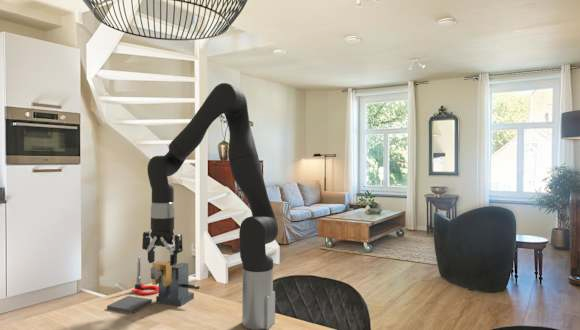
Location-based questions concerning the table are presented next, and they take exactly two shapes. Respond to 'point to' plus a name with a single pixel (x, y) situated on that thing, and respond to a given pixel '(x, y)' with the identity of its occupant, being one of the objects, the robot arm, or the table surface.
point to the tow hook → (140, 286)
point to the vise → (174, 286)
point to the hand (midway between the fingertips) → (162, 263)
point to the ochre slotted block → (166, 273)
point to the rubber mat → (129, 304)
